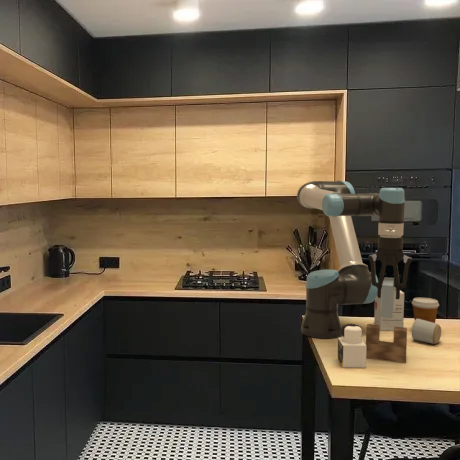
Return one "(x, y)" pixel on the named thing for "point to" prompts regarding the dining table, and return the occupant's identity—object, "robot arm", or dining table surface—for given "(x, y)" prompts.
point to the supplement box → (397, 315)
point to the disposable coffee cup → (425, 309)
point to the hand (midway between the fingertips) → (388, 308)
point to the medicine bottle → (352, 347)
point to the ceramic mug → (426, 331)
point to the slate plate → (387, 297)
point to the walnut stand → (386, 344)
